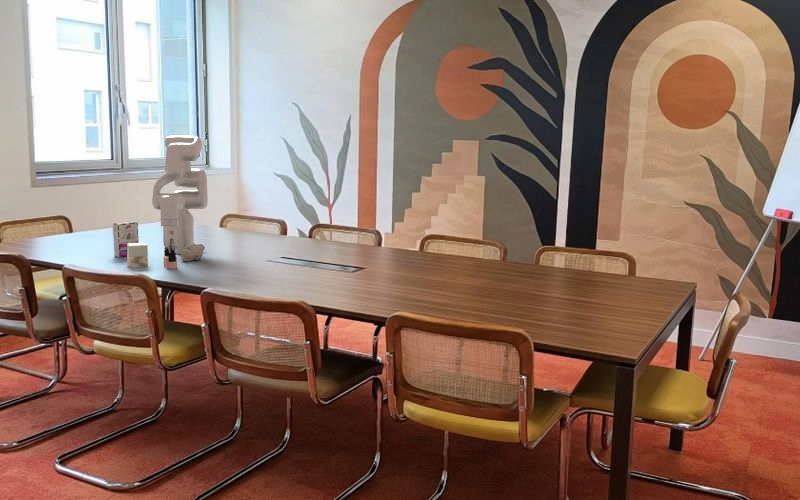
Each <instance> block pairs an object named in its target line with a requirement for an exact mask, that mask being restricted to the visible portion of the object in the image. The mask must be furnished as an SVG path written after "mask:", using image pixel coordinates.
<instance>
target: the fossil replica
mask: <svg viewBox="0 0 800 500" xmlns="http://www.w3.org/2000/svg"><path fill="white" fill-rule="evenodd" d="M196 244H197V245H189V246H187V247H185V248H184V250H183V251H182V252H181V254H180V258H181V260H183V261H185V262H191V261H193V260H195V261H198V260H201V259H202V258H203V257H204V256H203V254H204V250H205V249H206V248H205V246H203V245H204V244H203V243H196ZM202 244H203V245H202Z"/></svg>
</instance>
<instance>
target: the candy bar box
mask: <svg viewBox="0 0 800 500" xmlns="http://www.w3.org/2000/svg"><path fill="white" fill-rule="evenodd" d="M112 234H113V235H112V237H113V250H114V251H113V253H114V254H113V255H114V257H115V258H125V257H126V258H127V243H140V242H139V225H138V221H133V220H132V221H124V222H116V223H112Z"/></svg>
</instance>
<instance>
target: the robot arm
mask: <svg viewBox="0 0 800 500" xmlns="http://www.w3.org/2000/svg"><path fill="white" fill-rule="evenodd" d="M164 145H165V148H166V150H165V151H166V152H165V163H164V172H163V174H161V176H159V178H158V179H157V180H156V181H155V183H154V185H153V188H152V199H151V201H152V207H153V209H155V210H158V211H160V227H162V231H163V232H162V240H163V242H162V243H163V246H164V247H163V248H164V251H163V252H164V255H163V257H164V256H168V261H169V262H176V257H177V255H181V252H182V251H183V250H184V248H185V247H187V246H189V245H197V244H198V243H195V235H194V234H195V233H194V232H195V230H194V229H195V228H194V222H195V221H194V216H193V215H192V213H191V212H190V211H189V210H203V209H204V210H205V209H206V208H207V207H208V204H209V202H208V200H209V198H208V179H207V178H208V177H207V173H206V172H205V170H204V169H202V168H192V164H191V162H195V161H197V160H198V159H199V156H200V154H201V152H202V147H203V143H202V139H201V138H200V137H199V136H196V135H169V136H166V137H165V138H164ZM172 182H174V185H175V187H177V188H182V189H179V190H175V191H173V193H167V192H166V193H161V190H162V188H164V187H165V186H166V185H168V184H170V183H172ZM184 188H185V189H184ZM191 188H192V190H191ZM193 189H194V190H193ZM195 189H196V190H195ZM201 244H202V245H203V246H204V244H203V243H201ZM204 247H205V246H204Z"/></svg>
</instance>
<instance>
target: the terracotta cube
mask: <svg viewBox="0 0 800 500" xmlns="http://www.w3.org/2000/svg"><path fill="white" fill-rule="evenodd" d="M163 268H164V269H166V268H171V269H178V257H177V256H176V262H169V261H168V256H164V255H163Z"/></svg>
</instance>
